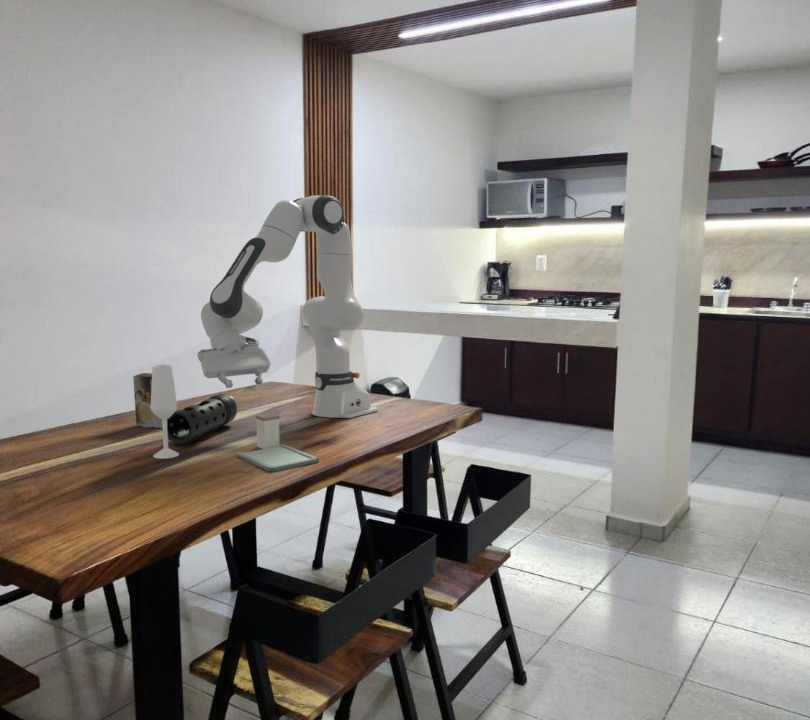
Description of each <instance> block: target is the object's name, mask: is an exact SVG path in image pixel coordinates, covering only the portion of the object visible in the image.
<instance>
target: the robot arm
mask: <svg viewBox="0 0 810 720" xmlns="http://www.w3.org/2000/svg"><path fill="white" fill-rule="evenodd" d="M348 225H349V224H347V223H346V222H345V212H344V207H343V205H342V203H341V201H340V200H339V199H338V198H336V197H335V196H331V195H328V194H324V195H310V196H306V197H300V198H297V199H294V200H293V201H290V200H285V199H284V200H280V201H278V202H277V203H276V204H275V205H274V207H272V209H271V211H270V212H269V214H268V215H267V217H266V218H265V220H264V222H263V224H262V226H261V228H260V230H259V232H258V233H257V234H256V236H255V237H252V238H250V239H249V240H248V241H247V242H246V243H245V245H244V246H243V247H242V249H240V252H239V253H238V255H237V256H236V258H235V260H234V261H233V263H232V264H231V266H230V267H229V269H228V270H227V272H226V273H225V275H224V277H223V278H222V279H221V280H220V281H219V282H218V283H217V285H216V286H215V287H214V288H213V289H212V291H211V293H210V297H209V301H207V302H206V303H205V304H204V305H203V307H202V308H201V312H200V319H201V323H202V326H203V328H204V331H205V334H206V336H207V337H208V338H209V340H210V341H209V342H210V346H211V348H209V349H208V348H207V349H201V350H200V351H198V352H197V354H196V355H197V359H198V360H199V362H200V365H201V370H202V373H203V374H202V375H203V376H204V377H205V378H207V379H216V378H217V379H218V381H220V382H221V383H222V384H224V386H225V388H226V389H231V388H232V387H233V386H234V383H233V381H232V379H229V378H227V377H235V376H236V377H237V376H244V375H246V376H247V375H255V379H254V383H255V385H256V386H259V385H262V384H263V382H264V381H263V378H262V374H265V373H267V372H268V371H269V369H270V367H271V361H270V358H269V356H268V354H267V353H266V351H265V350H264V348H263V347H262V346H260V341H259V339H258V338H255V337H249V336H244V335H242V334H243V333H245V332H248V331H249V330H251V329H254V328H255V327H257V326H258V324H259V323H260V322H261V320H262V318H263V314H264V313H263V311H264V309H263V306H262V305H261V303H260V302H259V301H257V300H256V299H254V297H252V296H251V295H249V294H248V293H246V292H245V285H246V284H247V281H248V280H249V278H250V277H251V275H252V273H253V271H254V270H255V268H256V267H257V266H258V265H259V264H260V263H262V262H267V263H279V262H282V261H284V260H286V259H288V258H289V256H290V254H291V252H292V251H293V249H294V247H295V245H296V243H297V240H298V237H299V236H300V234H301V232H311V233H312V232H313V233H314V232H315V234H316V237H317V238H316V239H317V252H316V253H317V255H316V258H317V259H316V279H317V280H318V282H319V283H320V285H321V286H322V290H323V293H324V294H323V295H324V296H323V295H320V296H315V297H311V298H309V299H307V301H306V302H305V303H304V304H303V307H302V317H303V320H304V321H305V323H306V324H307V325H308V328H309V330H310V332H311V336H312V339H313V342H314V343H313V344H314V347H315V348H314V349H315V362H316V363H315V366H316V370H315V372H314V373H315V374H314V384H315V385H314V386H315V398H314V403H313V407H312V408H313V409H312V412H311V414H312V415H314V416H315V417H322V418H332V419H333V418H341V419H351V418H354V417H359V416H362V415H366V414H371V413H374V412H378V410H379V409H378V407H377V406H375V405H373V404H372V402H371V401H372V400H371V396H370V394H369V392H368V391H367V390H366V389H365V388H364V387H362V386H360V385H359V384H358V383H357V382H355V379H360V377H361V374H360V372H356V371H354V372H353V371H351V368H350V363H351V361H350V360H351V359H350V348H349V346H348V344H347V343H346V342H345V340H344V338H343V335H342V333H347V332H351V331H355V330H357V329H358V328H360V327H361V325H362V324H363V321H364V310H363V307H362V306H361V304H360V303H359V302H358V300H357V298H356V296H355V292H354V288H353V284H352V239H351V231H350V227H349V226H348Z"/></svg>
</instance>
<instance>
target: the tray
mask: <svg viewBox="0 0 810 720" xmlns="http://www.w3.org/2000/svg"><path fill="white" fill-rule="evenodd" d="M237 456H238V457H237ZM236 457H237V458H239V457H240V459H241V458H242V460H244V461H245V462H247V463H250V464H252V465H254V466H257V467H259V468H261V469H263V470H265V471H267V472H269V473H273V472H274V473H275V472H279V471H282V470H287V469H293V468H297V467H302V466H306V465H311V463H312V464H315V463H314V462H316V463H319V461H320V458H319V457H316V456H314V455H312V454H309V453H307V452H304V451H302V450H299V449H297V448H294V447H291V446H289V445H287V444H285V443H282V444H279V446H278V447H272V448H267V449H257V450H252V451H247V452H242V451H239V452H236Z"/></svg>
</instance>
